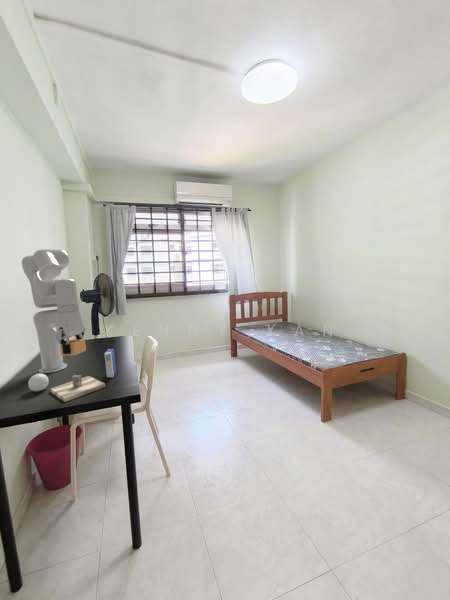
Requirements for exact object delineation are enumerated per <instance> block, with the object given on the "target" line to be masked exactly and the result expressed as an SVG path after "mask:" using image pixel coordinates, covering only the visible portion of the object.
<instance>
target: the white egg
mask: <svg viewBox="0 0 450 600" xmlns="http://www.w3.org/2000/svg"><path fill="white" fill-rule="evenodd" d="M49 381H50V380H49V377H48V376H47V374H45V373H36V374H34V375H31V377H30V378H29V379H28V381H27V382H28V383H27V386H28V388H29V389H30V390H31V391H33V392H40V391H44V389H46V388H47V386H48V385H49Z"/></svg>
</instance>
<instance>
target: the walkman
mask: <svg viewBox="0 0 450 600" xmlns="http://www.w3.org/2000/svg"><path fill="white" fill-rule="evenodd" d="M104 360H105V361H104V363H105V371H106V379H107V378H108V377H109V378H113V377H114V376H115V375H116V373H117V366H116V355H115V349H114V348H108V349H107V350H106V351H105V352H104Z"/></svg>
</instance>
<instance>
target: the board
mask: <svg viewBox="0 0 450 600" xmlns="http://www.w3.org/2000/svg"><path fill="white" fill-rule="evenodd" d="M71 379H72V381H69V382H66V383H62V384H60V385H57V386H53V387H50V388H49V390H50V393H52V394H53V395H54V396H55V397H57V398H58V399H60V400H61V401H63V402H64V403H66V402H69V401H71V400H74V399H77V398H80V397H82V396H85V395H87V394H90V393H93V392H96V391H98V390H101V389H104V388H105V387H106V383H105V382H102V381H100V380H99V379H96V378H94V377H93V376H91V375H90V376H89V375H87V376H84V377H82V375H81V374H79V375H78V374H76V375H75V374H74V375H72V377H71Z"/></svg>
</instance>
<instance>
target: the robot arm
mask: <svg viewBox="0 0 450 600" xmlns="http://www.w3.org/2000/svg"><path fill="white" fill-rule="evenodd" d="M69 263H70V257H69V255H68V253H67V252H66V251H65V250H63V249H48V248H47V249H46V248H45V249H43V248H42V249H38V250H36V251H35V252H34V253H33V255H27V256H24V257H23V258H22V259H21V266H22V270H23V272H24V274H25V276H26V278H27V279H28V281H29V284H30V290H31V295H32V300H33V304H34V306H35V307H36V308H38V309H47V308H48V310H40V311H37V312H36V313H34V315H33V317H32V319H33V323H34V327H35V330H36V333H37V339H38V340H37V341H38V346H39V354H40V360H41V367H40V368H39V369H38V373H39V374H51V373H56V372H59V371H62V370H65V369H66V368H67V367H68V364H67V363H66V362H64V358H63V357H64V356H63V355H61V351H60V344H61V345H62V349H63V354H71V350H70V344H68V343H69V340H70V339H71V337H74V338H75V339H84V335H85V333H86V330H87V328H85V327H84V326H83V325H84V324H83V319H82V314H81V312H80V310H79V309H80V308H79V301H78V300H79V299H78V291H77V282H76V280H74V279H73V278H62V279H61V278H60V279H58V278H57V277H59V276H60V275H61V273H62V271H63V270H64V269H66V268H67V267H68V266H69ZM56 278H57V279H56ZM56 307H57V308H56ZM49 308H56V309H49Z"/></svg>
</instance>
